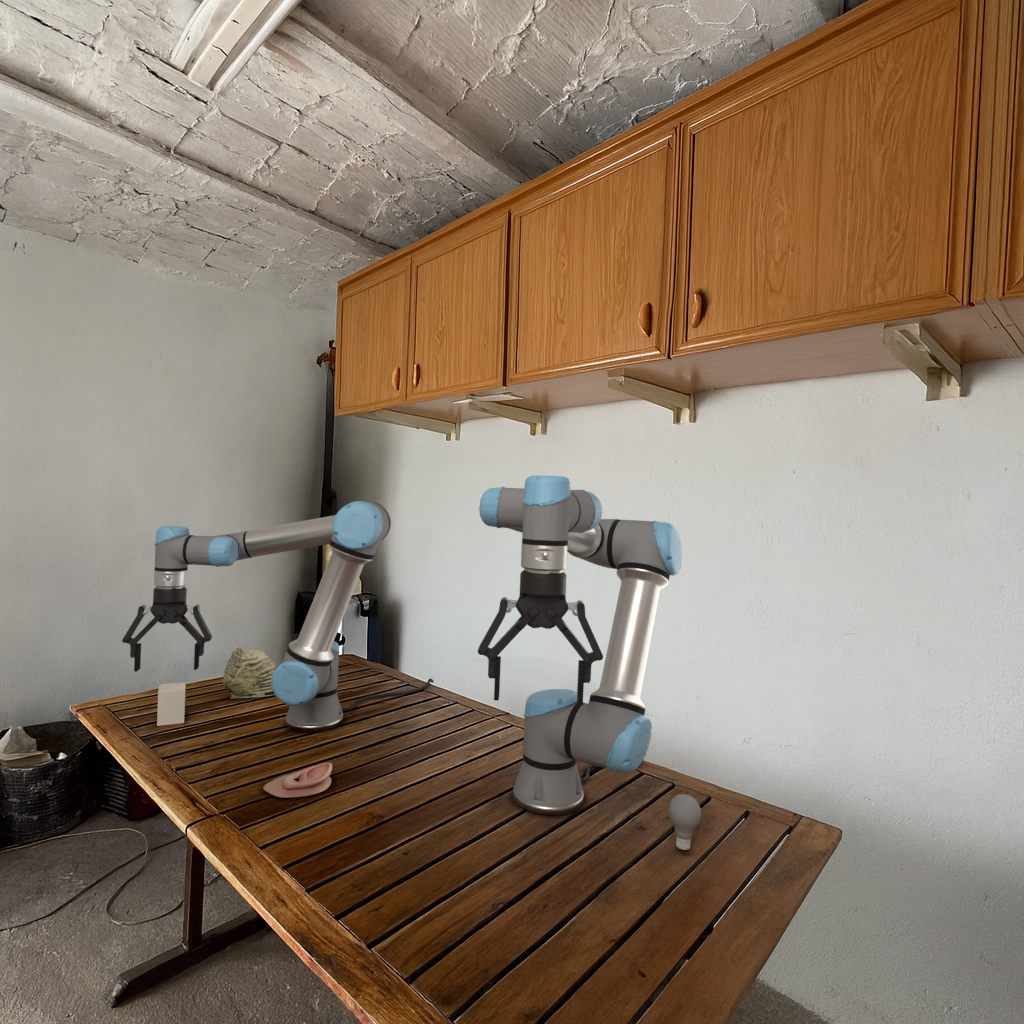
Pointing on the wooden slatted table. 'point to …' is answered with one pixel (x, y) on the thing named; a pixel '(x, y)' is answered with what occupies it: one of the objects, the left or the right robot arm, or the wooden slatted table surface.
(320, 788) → the anatomical model
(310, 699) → the left robot arm
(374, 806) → the wooden slatted table surface
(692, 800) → the light bulb
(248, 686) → the fossil
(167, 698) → the block
